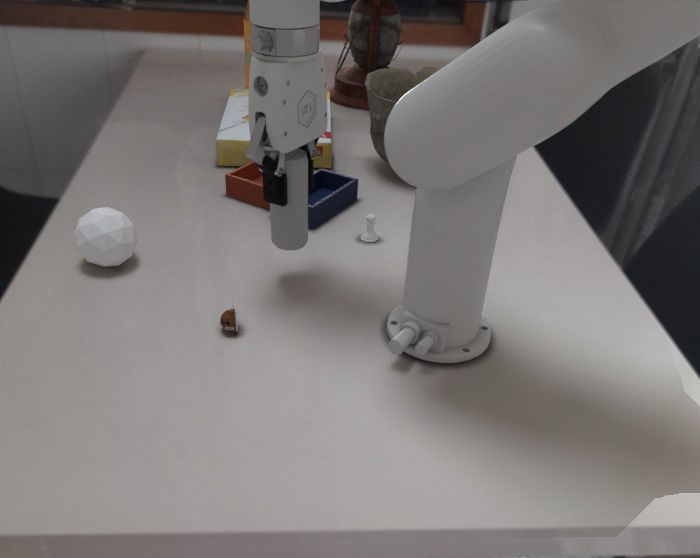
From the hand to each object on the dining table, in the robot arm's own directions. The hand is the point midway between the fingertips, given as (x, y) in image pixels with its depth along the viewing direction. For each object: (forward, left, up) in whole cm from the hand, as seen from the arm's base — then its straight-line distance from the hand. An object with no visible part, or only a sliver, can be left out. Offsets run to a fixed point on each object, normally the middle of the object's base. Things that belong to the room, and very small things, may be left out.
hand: (289, 194), depth 89 cm
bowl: (+45, +3, -12) cm, 47 cm away
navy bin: (+20, +9, -12) cm, 25 cm away
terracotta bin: (+20, +18, -12) cm, 30 cm away
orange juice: (+62, +49, -12) cm, 80 cm away
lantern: (+75, +31, -12) cm, 82 cm away
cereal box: (+40, +31, -12) cm, 52 cm away
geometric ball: (-11, +22, -12) cm, 27 cm away
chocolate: (-14, -1, -12) cm, 19 cm away
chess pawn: (+16, -3, -12) cm, 20 cm away
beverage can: (0, 0, -7) cm, 7 cm away
